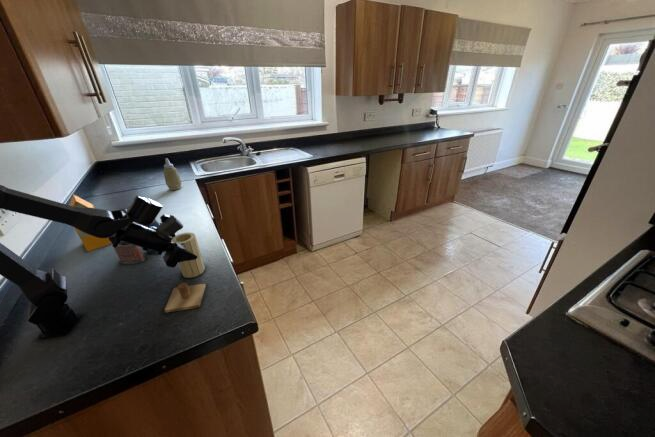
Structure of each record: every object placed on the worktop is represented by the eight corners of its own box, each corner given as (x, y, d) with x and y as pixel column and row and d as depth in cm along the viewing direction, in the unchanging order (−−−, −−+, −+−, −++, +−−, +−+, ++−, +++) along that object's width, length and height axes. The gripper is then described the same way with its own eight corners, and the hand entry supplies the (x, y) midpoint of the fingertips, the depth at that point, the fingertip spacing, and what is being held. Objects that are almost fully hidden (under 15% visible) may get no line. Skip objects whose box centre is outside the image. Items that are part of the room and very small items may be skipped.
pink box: (146, 257, 97) (137, 234, 93) (141, 263, 94) (131, 239, 90) (124, 258, 97) (113, 234, 92) (118, 264, 94) (106, 240, 90)
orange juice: (107, 235, 112) (86, 190, 102) (111, 243, 106) (89, 197, 97) (84, 243, 107) (59, 196, 98) (86, 251, 101) (60, 203, 92)
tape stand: (165, 312, 74) (159, 299, 72) (175, 290, 82) (170, 277, 80) (199, 307, 76) (195, 294, 73) (206, 285, 83) (202, 273, 81)
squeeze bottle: (182, 189, 156) (173, 159, 148) (167, 192, 154) (157, 161, 145) (183, 185, 163) (175, 155, 154) (168, 187, 160) (159, 157, 152)
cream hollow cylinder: (179, 279, 86) (167, 244, 80) (185, 266, 92) (175, 233, 86) (202, 276, 87) (191, 242, 81) (206, 263, 93) (197, 231, 87)
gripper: (167, 224, 70) (217, 243, 82) (151, 202, 83) (197, 221, 94) (143, 260, 70) (197, 275, 81) (131, 233, 82) (179, 249, 94)
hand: (193, 253), depth 88 cm, fingers closed on cream hollow cylinder, 7 cm apart
